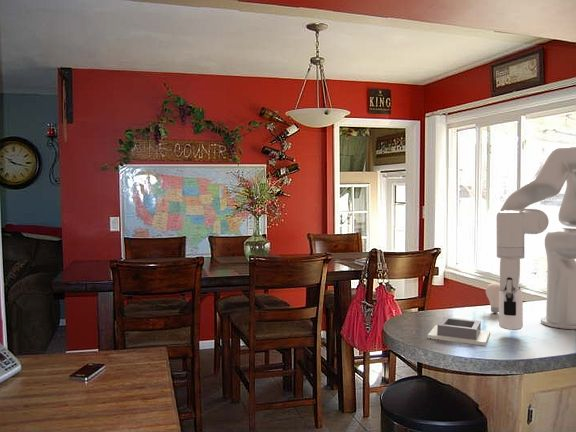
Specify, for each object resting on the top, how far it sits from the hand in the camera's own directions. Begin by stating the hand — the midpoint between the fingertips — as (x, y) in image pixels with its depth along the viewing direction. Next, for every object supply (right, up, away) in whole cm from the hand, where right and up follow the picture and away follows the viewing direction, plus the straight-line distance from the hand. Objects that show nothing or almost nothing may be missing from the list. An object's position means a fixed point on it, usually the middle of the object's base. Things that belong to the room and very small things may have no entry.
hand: (510, 311), depth 148 cm
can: (0, -5, 0) cm, 5 cm away
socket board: (-15, -7, 0) cm, 17 cm away
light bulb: (+8, -7, +30) cm, 32 cm away
